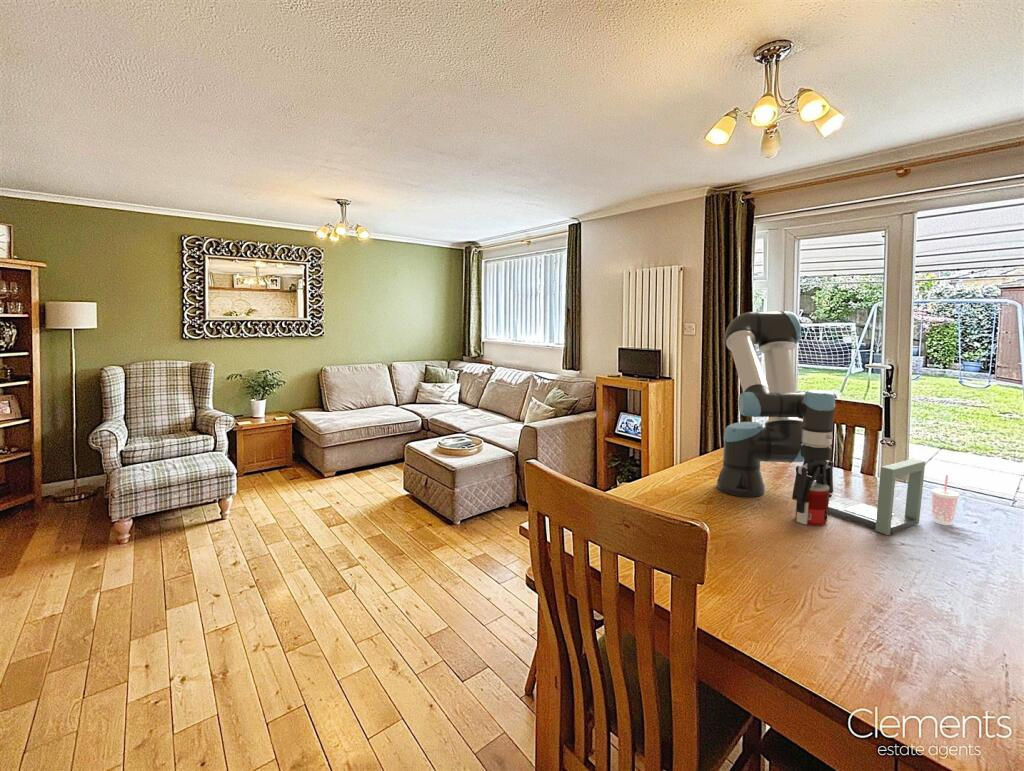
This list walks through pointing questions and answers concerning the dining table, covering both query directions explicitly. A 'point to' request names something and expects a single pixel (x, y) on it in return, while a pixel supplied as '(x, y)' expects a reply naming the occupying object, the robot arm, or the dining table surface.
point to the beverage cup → (944, 505)
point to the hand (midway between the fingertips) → (811, 519)
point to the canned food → (817, 504)
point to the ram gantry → (900, 470)
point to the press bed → (866, 514)
